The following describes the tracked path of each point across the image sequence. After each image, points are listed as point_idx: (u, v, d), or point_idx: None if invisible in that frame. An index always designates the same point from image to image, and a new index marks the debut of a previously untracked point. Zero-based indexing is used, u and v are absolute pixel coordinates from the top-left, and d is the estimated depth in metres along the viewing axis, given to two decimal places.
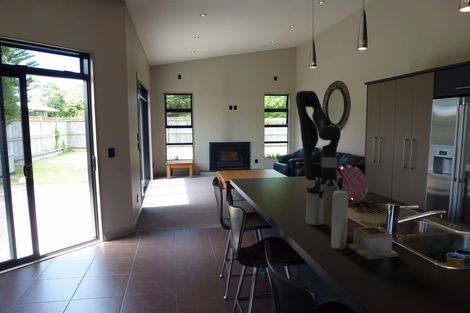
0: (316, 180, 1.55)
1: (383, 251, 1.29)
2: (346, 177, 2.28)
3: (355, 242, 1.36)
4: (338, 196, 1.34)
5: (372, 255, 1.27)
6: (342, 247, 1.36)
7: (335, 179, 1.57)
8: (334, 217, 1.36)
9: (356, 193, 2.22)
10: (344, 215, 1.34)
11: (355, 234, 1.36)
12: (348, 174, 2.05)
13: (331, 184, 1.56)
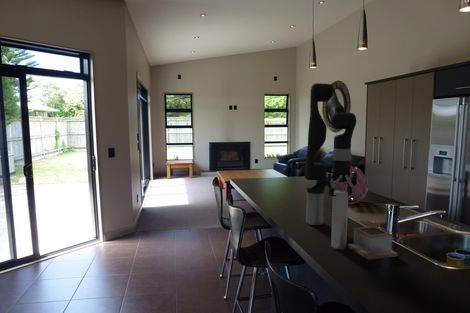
0: (327, 175, 1.34)
1: (383, 251, 1.29)
2: None
3: (355, 242, 1.36)
4: (338, 196, 1.34)
5: (372, 255, 1.27)
6: (342, 247, 1.36)
7: (348, 174, 1.35)
8: (334, 217, 1.36)
9: (356, 193, 2.22)
10: (344, 215, 1.34)
11: (355, 234, 1.36)
12: None
13: (344, 180, 1.35)
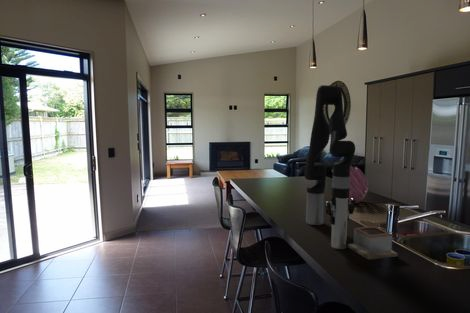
0: (326, 204, 1.35)
1: (383, 251, 1.29)
2: None
3: (355, 242, 1.36)
4: None
5: (372, 255, 1.27)
6: (342, 247, 1.36)
7: None
8: None
9: (356, 193, 2.22)
10: (344, 215, 1.34)
11: (355, 234, 1.36)
12: None
13: None
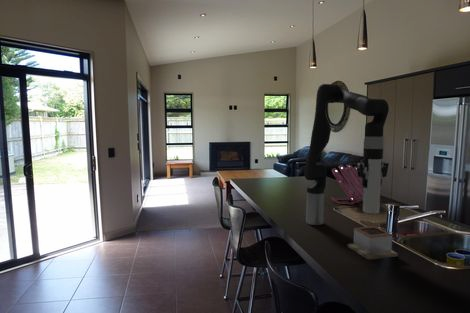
0: (358, 166, 1.29)
1: (383, 251, 1.29)
2: (346, 177, 2.28)
3: (355, 242, 1.36)
4: None
5: (372, 255, 1.27)
6: (375, 211, 1.29)
7: None
8: (367, 180, 1.29)
9: (356, 193, 2.22)
10: (377, 177, 1.28)
11: (355, 234, 1.36)
12: (348, 174, 2.05)
13: None
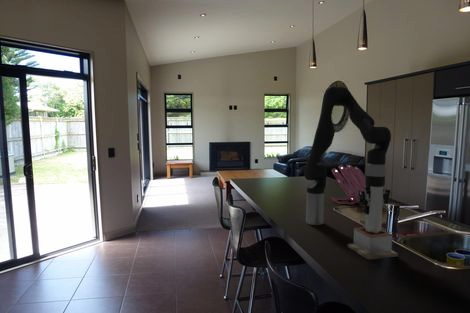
0: (360, 193, 1.30)
1: (383, 251, 1.29)
2: (346, 177, 2.28)
3: (355, 242, 1.36)
4: None
5: (372, 255, 1.27)
6: None
7: None
8: (369, 206, 1.30)
9: (356, 193, 2.22)
10: (379, 205, 1.29)
11: (355, 234, 1.36)
12: (348, 174, 2.05)
13: None
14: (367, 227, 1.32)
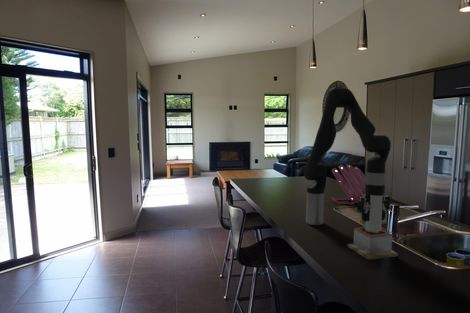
0: (360, 200, 1.30)
1: (383, 251, 1.29)
2: (346, 177, 2.28)
3: (355, 242, 1.36)
4: (373, 196, 1.29)
5: (372, 255, 1.27)
6: None
7: None
8: (368, 218, 1.31)
9: (356, 193, 2.22)
10: (378, 216, 1.29)
11: (355, 234, 1.36)
12: (348, 174, 2.05)
13: None
14: None
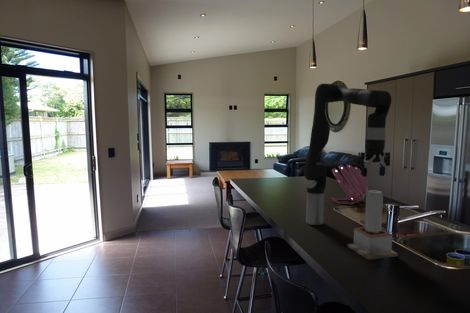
0: (360, 155, 1.31)
1: (383, 251, 1.29)
2: (346, 177, 2.28)
3: (355, 242, 1.36)
4: (373, 196, 1.29)
5: (372, 255, 1.27)
6: None
7: (382, 154, 1.32)
8: (368, 218, 1.31)
9: (356, 193, 2.22)
10: (378, 216, 1.29)
11: (355, 234, 1.36)
12: (348, 174, 2.05)
13: (377, 160, 1.32)
14: None
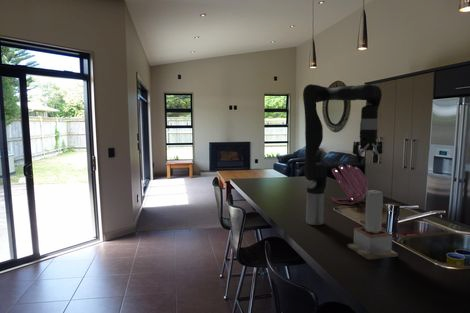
0: (355, 144, 1.44)
1: (383, 251, 1.29)
2: (346, 177, 2.28)
3: (355, 242, 1.36)
4: (373, 196, 1.29)
5: (372, 255, 1.27)
6: None
7: (375, 143, 1.45)
8: (368, 218, 1.31)
9: (356, 193, 2.22)
10: (378, 216, 1.29)
11: (355, 234, 1.36)
12: (348, 174, 2.05)
13: (370, 148, 1.45)
14: None
